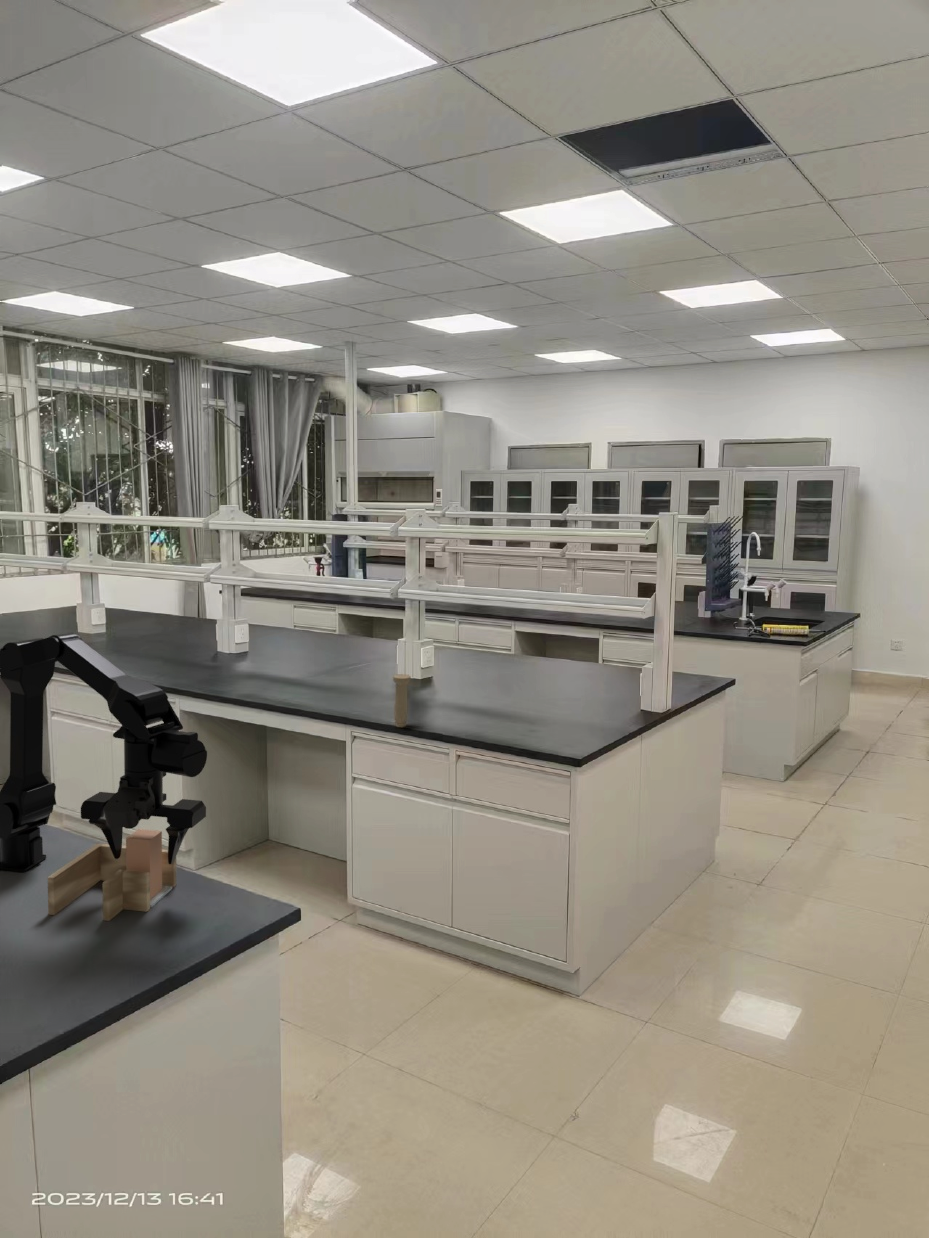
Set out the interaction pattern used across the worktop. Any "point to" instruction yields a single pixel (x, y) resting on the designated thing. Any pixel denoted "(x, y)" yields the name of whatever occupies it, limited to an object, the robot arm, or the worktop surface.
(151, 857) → the peg
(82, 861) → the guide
